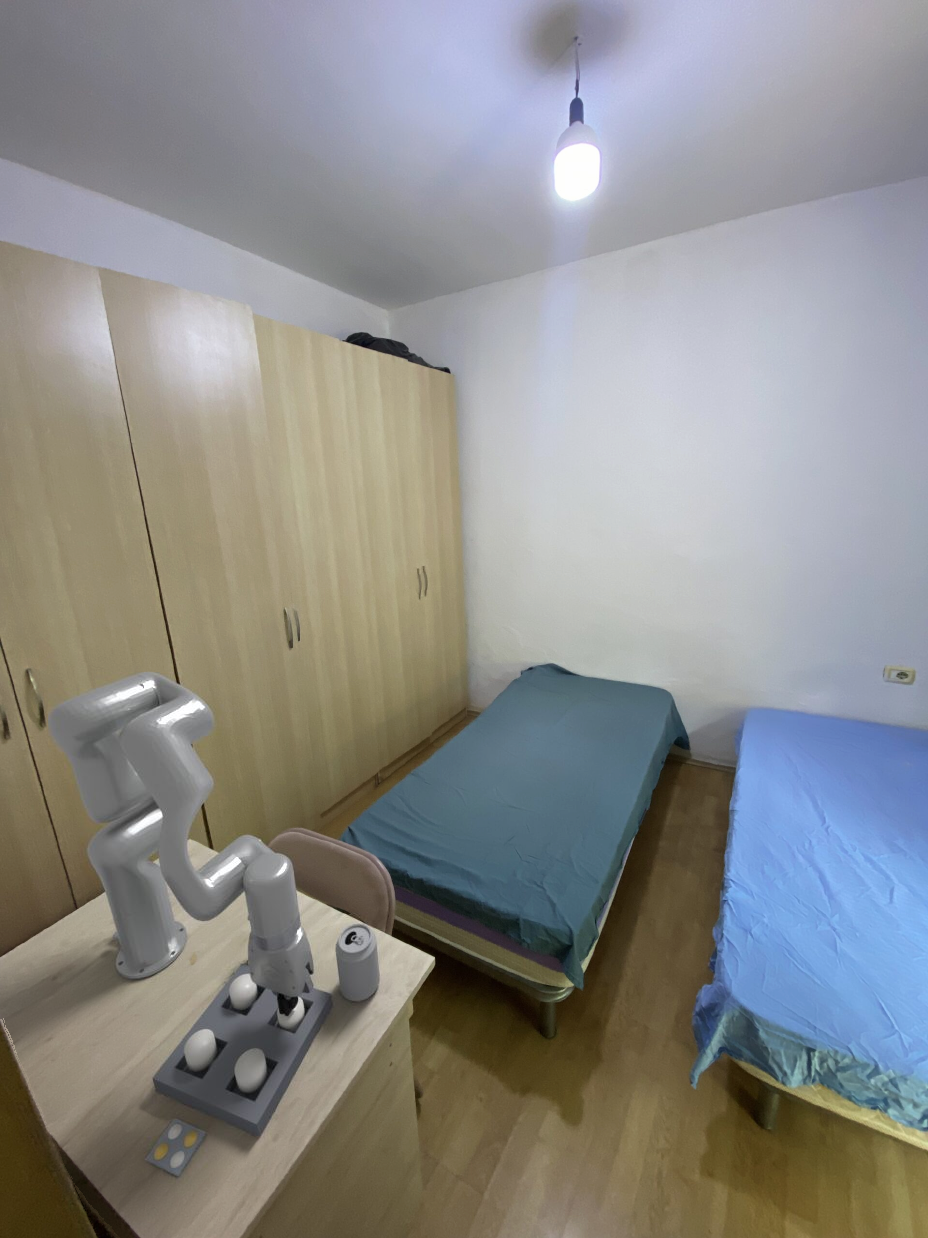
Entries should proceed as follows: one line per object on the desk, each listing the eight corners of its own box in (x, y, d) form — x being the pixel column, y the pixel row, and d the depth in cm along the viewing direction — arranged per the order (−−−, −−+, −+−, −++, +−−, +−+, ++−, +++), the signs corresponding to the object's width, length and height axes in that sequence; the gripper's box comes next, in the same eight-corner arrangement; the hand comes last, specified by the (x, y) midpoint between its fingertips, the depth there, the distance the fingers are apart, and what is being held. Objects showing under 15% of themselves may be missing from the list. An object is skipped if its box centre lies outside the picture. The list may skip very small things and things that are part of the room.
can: (352, 962, 101) (347, 915, 98) (386, 972, 99) (382, 924, 95) (333, 998, 94) (326, 949, 91) (369, 1010, 92) (364, 960, 89)
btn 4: (274, 1029, 88) (271, 1017, 87) (289, 1005, 92) (287, 993, 91) (295, 1037, 87) (293, 1025, 86) (310, 1012, 91) (308, 1000, 90)
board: (155, 1091, 81) (152, 1078, 80) (243, 975, 99) (241, 964, 98) (259, 1138, 75) (256, 1124, 74) (332, 1006, 93) (331, 993, 92)
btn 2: (226, 1006, 91) (223, 993, 90) (243, 983, 95) (241, 971, 94) (246, 1013, 89) (243, 1001, 88) (262, 990, 93) (260, 977, 92)
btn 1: (180, 1066, 82) (177, 1053, 81) (202, 1038, 86) (199, 1025, 85) (202, 1076, 80) (199, 1062, 79) (223, 1046, 84) (220, 1034, 83)
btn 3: (231, 1088, 79) (228, 1074, 78) (250, 1057, 83) (248, 1044, 82) (254, 1098, 77) (251, 1084, 76) (273, 1066, 81) (270, 1053, 80)
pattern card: (146, 1161, 72) (145, 1158, 72) (174, 1119, 77) (174, 1117, 77) (178, 1177, 71) (178, 1175, 70) (206, 1134, 75) (205, 1132, 75)
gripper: (223, 933, 82) (239, 1015, 87) (301, 959, 78) (313, 1043, 83) (254, 897, 89) (267, 975, 94) (328, 919, 84) (337, 999, 90)
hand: (289, 1007), depth 89 cm, fingers closed
